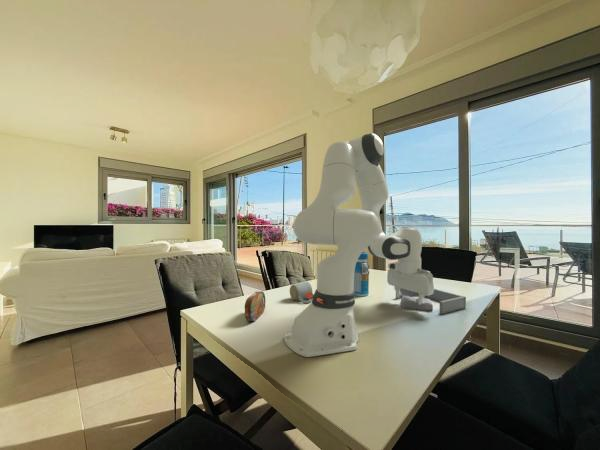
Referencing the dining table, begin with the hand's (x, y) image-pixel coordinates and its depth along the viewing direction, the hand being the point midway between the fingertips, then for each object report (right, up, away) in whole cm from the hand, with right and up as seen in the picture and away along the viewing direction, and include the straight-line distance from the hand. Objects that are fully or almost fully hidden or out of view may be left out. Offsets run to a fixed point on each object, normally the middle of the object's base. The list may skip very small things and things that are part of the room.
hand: (408, 300), depth 108 cm
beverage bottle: (-16, -2, +19) cm, 25 cm away
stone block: (+4, -3, +2) cm, 5 cm away
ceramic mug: (-43, -3, +9) cm, 44 cm away
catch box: (+11, -3, +5) cm, 12 cm away
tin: (-61, -3, -12) cm, 62 cm away
